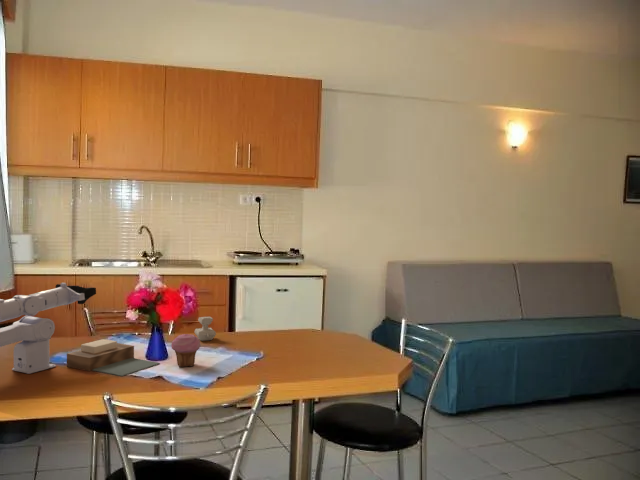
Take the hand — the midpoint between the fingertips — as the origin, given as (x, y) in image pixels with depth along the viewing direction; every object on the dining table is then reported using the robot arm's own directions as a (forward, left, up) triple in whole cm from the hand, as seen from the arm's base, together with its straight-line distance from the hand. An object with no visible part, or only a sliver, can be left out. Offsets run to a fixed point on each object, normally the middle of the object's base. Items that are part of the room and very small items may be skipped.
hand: (86, 289), depth 196 cm
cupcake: (+7, -36, -22) cm, 43 cm away
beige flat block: (-4, -10, -18) cm, 21 cm away
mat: (-4, -22, -22) cm, 31 cm away
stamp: (+38, -19, -22) cm, 48 cm away
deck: (-4, -11, -22) cm, 25 cm away
